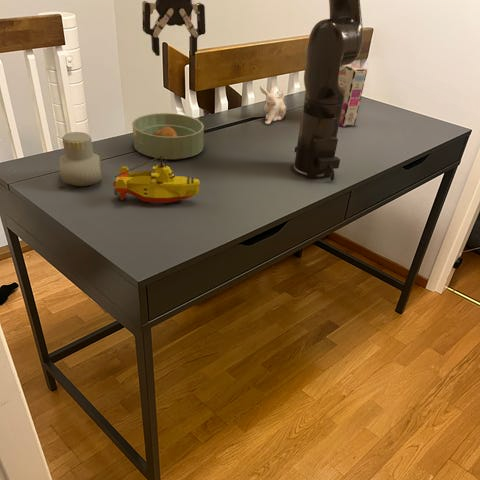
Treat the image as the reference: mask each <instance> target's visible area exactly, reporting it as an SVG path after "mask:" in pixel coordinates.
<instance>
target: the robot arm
mask: <svg viewBox="0 0 480 480" xmlns="http://www.w3.org/2000/svg"><path fill="white" fill-rule="evenodd" d="M328 4H329V5H328V7H329V18H325V19H321V20H320V21H319V20H318V22H317V23H315V24H314V25H313V27H312V29H311V32H310V34H309V37H308V41H307V45H306V46H307V47H306V55H305V62H304V63H305V64H304V72H303V73H304V74H303V85H304V90H305V91H304V98H303V106H302V112H301V118H300V125H299V131H298V136H297V143H296V146H295V147H294V153H295V157H294V163H293V167H292V168H293V171H295V172H296V173H298V174H299V175H301V176H305V177H307V178H309V179H316V178H325V177H330V181H331V182H333V181H334V179H335V170H337V169H339V167H340V163H341V158H339V157H338V156H336V153H337V148H338V147H337V146H338V142H339V139H338V133H339V127H340V125H339V123H340V118H341V114H342V109H343V104H344V99H345V94H346V89H345V87H344V86H343V85H341V84H339V82H338V78H339V70H340V66H344V65H348V64H350V63H351V64H353V63H354V62H355V61H356V60H357V59H358V58H359V56H360V54H361V51H362V48H363V44H364V28H363V18H362V7H361V0H328ZM141 8H142V9H141V10H142V15H141V16H142V32H143V33H144V34H146V35H149V36H150V38H151V41H150V42H151V51H152V53H153V54H154V55H155V56H156V57H160V56H161V51H160V37H159V35H160V33H161V32H162V30H164V28H165V27H166V25H167V26H169V27H173V26H177V27H182V26H184V27H185V29H186V30H187V31H188V32H189V34H190V36H188V37H189V41H188V42H189V43H188V44H189V45H188V46H189V48H188V49H189V50H188V51H189V52H188V53H189V55H190V56H193V57H194V56H195V55H196V53H197V52H198V38H199V37H200V36H202V35H203V36H204V35H205V34H206V8H205V4H203V3H202V2H197V3H192V0H155V2H148V1H146V0H144V1H142V7H141ZM154 10H155V11H156V12H157V14H158V16H157V18H156V20H155V22H154V25H153V26H152V27H151V15H153V14H154ZM192 12H194V14H195V15H196V28H195V25H194V23H193V22H192V21H191V19H190V15H191V14H192Z"/></svg>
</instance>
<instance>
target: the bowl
mask: <svg viewBox="0 0 480 480" xmlns="http://www.w3.org/2000/svg"><path fill="white" fill-rule="evenodd" d="M131 123H132V124H131V125H132V140H133V148H134V149H135V150H136V151H137V152H139V153H140V154H142V155H144V156H147V157H149V158H150V157H151V158H153V159H155V158H157V157H160V156H162V160H183V159H187V158H191V157H194V156H197V155H199V154H200V153H201V152H202V151H203V150H204V148H205V126H204V123H203V122H202V121H201V120H199V119H197V118H195V117H192V116H189V115H186V114H179V113H173V112H172V113H169V112H161V113H150V114H143V115H142V116H138V117H137V118H135V119H134V120H133V121H132V122H131ZM163 127H171V128H172V129H174V131H175V132H176V133H177V136H178V137H165V136H156V135H154V133H155V132H157V131H159V130H161V129H162V128H163Z"/></svg>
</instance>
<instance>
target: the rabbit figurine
mask: <svg viewBox="0 0 480 480" xmlns="http://www.w3.org/2000/svg"><path fill="white" fill-rule="evenodd" d="M274 86H275V85H274V83H272V84H271V88H270V92H268V91H267V89H265V88H264V87H263V86H262V85H261V84H260V85H259V90H260V92H261V94H264V95H265V96H266V98H265V104H264V107H263V109H264V112H265V113H266V114H265V120H264V123H265V124H267V125H270V124H271V123H272V122H276V121H282V120H283V119H284V118H285V115H286V114H287V106H286V105H285V101H284V99H285V94H284V91H283V90H281V92H280V91H278V90H277V91H276V94H277V95H279V97H277V96H276V95H275V94H274V93H275V87H274Z"/></svg>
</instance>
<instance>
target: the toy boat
mask: <svg viewBox="0 0 480 480" xmlns="http://www.w3.org/2000/svg"><path fill="white" fill-rule="evenodd" d="M155 160H159V163H158V164H156V165H155V166H154V165H153V166H152V170H136V171H133V170H135V169H138V168H140V167H142V166H144V165H146V164H149V163H151V162H153V161H155ZM131 171H133V172H131ZM153 171H154V172H153ZM114 178H116V179H115V181H113V183H112V186H114V189H113V195H114V196H119V197H120V200H124V199H125V197H126V195H127V194H129V195H132V196H134V197H136V198H138V199H139V200H141V201H143V202H147V203H155V204H169V203H175V202H178V201H181V200H187V199H190V198H192V197H194V196H195V195H197V194H199V191H200V185H201V183H200V181H201V180H200V179H199V178H195V177H190V176H183V175H182V176H181V175H180V176H177V175H175V174H174V173H173V171H172V169H171V167H170V166H168V165H167V159H164V163H163V159H162V156H160V157H157V158H153V159H151V160H148V161H147V162H144V163H143V164H140V165H137V166H135V167H133V168H131V169H129V168H128V166H121V168H120V170H119V172H118V174H116V175H115V176H114Z"/></svg>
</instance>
